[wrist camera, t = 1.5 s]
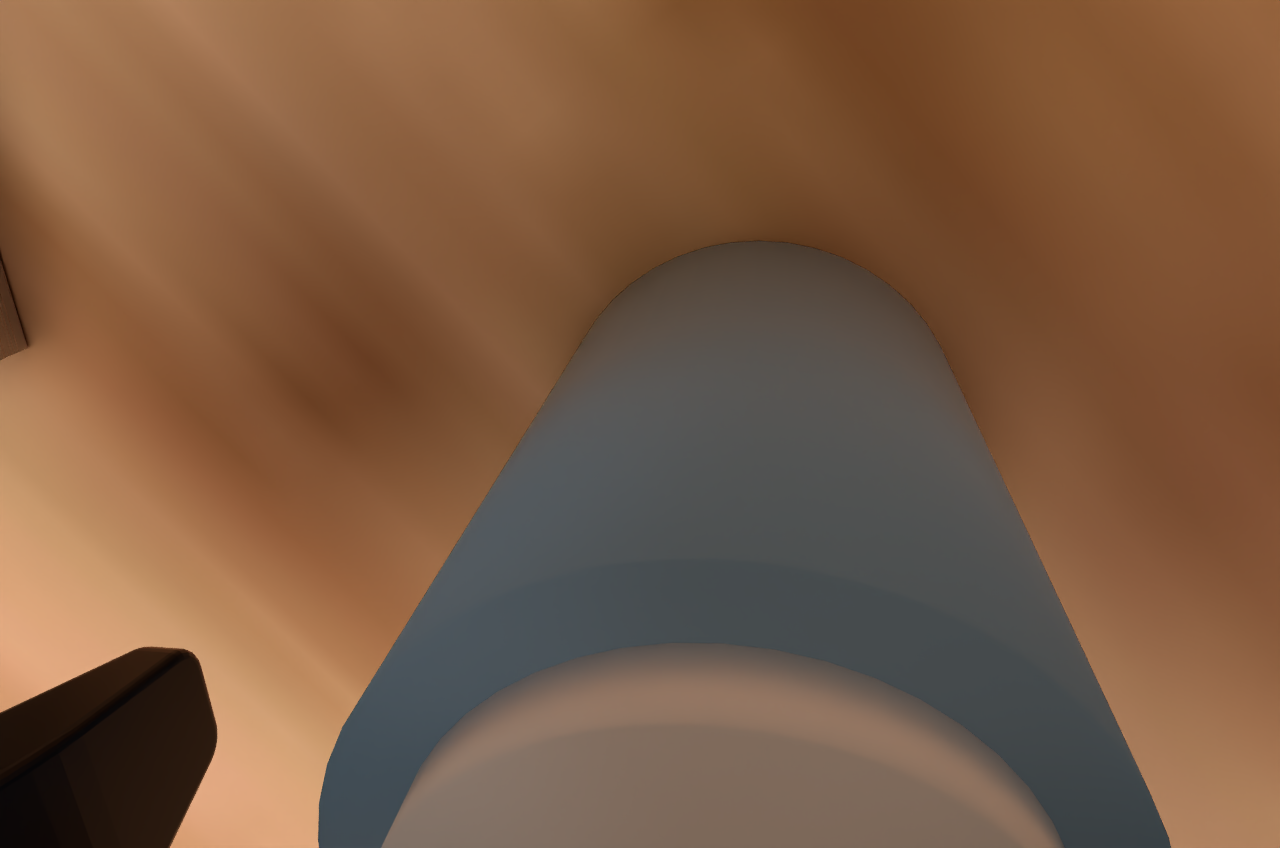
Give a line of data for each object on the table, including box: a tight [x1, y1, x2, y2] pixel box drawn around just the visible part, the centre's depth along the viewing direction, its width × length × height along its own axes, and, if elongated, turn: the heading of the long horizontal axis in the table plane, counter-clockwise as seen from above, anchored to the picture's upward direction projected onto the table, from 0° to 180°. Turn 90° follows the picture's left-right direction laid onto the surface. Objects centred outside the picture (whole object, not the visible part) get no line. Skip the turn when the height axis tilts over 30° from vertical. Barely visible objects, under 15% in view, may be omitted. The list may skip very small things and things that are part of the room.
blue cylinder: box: [318, 241, 1171, 848], centre depth 8 cm, size 5×5×8 cm
